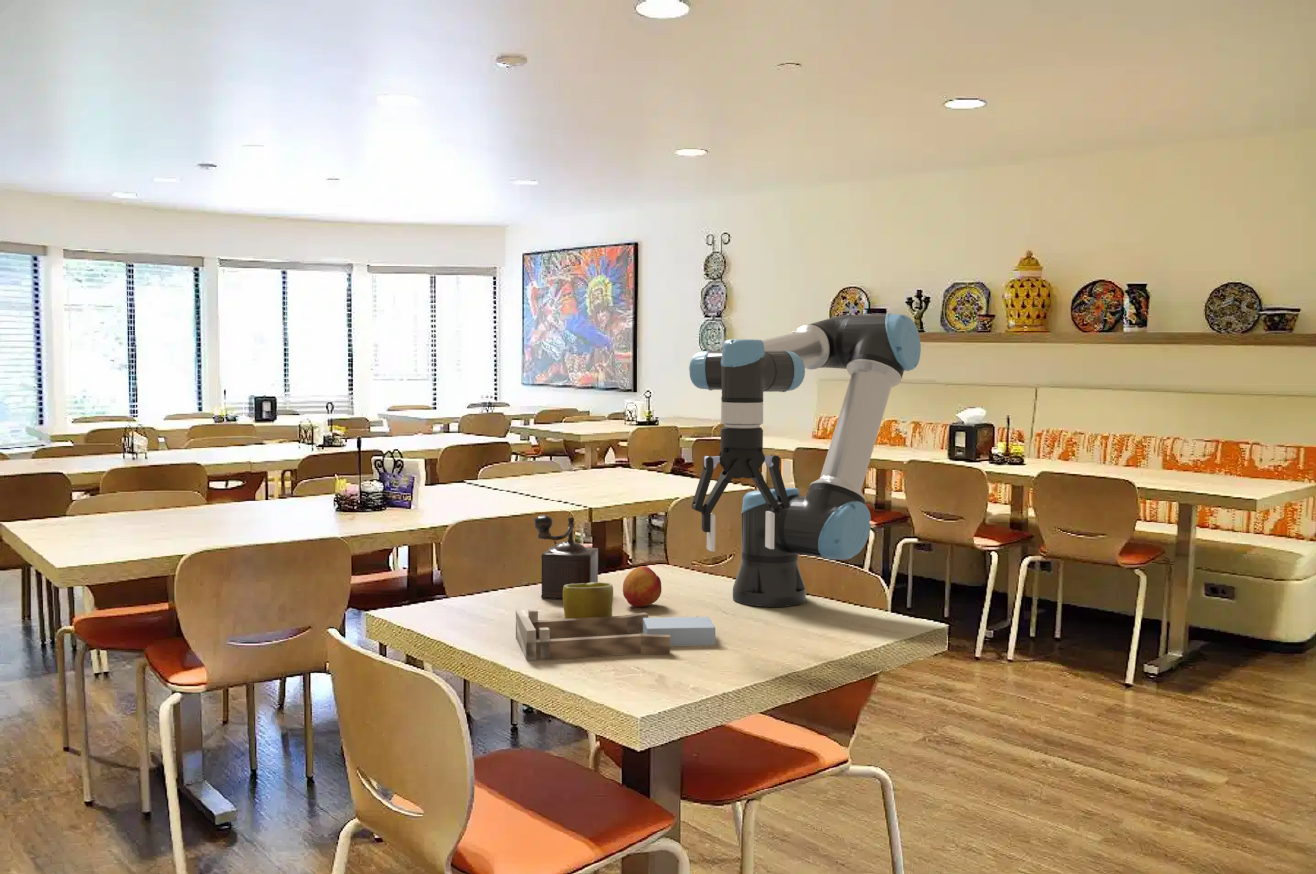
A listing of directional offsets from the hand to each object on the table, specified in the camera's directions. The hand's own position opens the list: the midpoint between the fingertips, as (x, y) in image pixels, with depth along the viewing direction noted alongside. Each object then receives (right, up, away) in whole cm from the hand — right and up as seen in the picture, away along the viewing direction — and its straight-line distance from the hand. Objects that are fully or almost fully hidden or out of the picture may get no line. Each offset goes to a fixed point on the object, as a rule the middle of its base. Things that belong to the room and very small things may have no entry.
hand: (740, 549), depth 197 cm
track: (-26, -16, -6) cm, 31 cm away
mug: (-28, -15, +8) cm, 33 cm away
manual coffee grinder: (-34, -14, +32) cm, 49 cm away
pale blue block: (-11, -16, -2) cm, 20 cm away
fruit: (-18, -14, +24) cm, 33 cm away
